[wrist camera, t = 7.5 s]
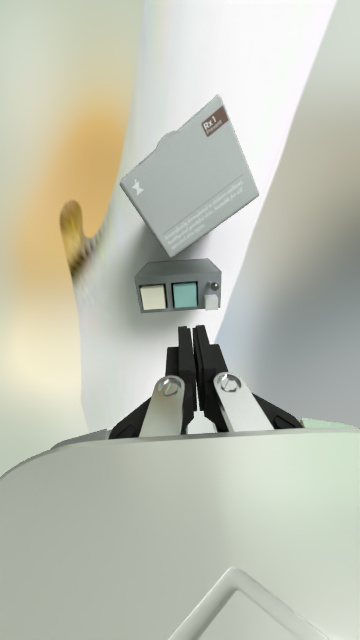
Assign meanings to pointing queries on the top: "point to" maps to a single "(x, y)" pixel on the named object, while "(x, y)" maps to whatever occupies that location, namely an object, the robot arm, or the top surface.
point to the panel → (179, 280)
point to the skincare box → (192, 180)
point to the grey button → (211, 302)
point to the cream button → (153, 296)
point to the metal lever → (213, 285)
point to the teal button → (185, 294)
